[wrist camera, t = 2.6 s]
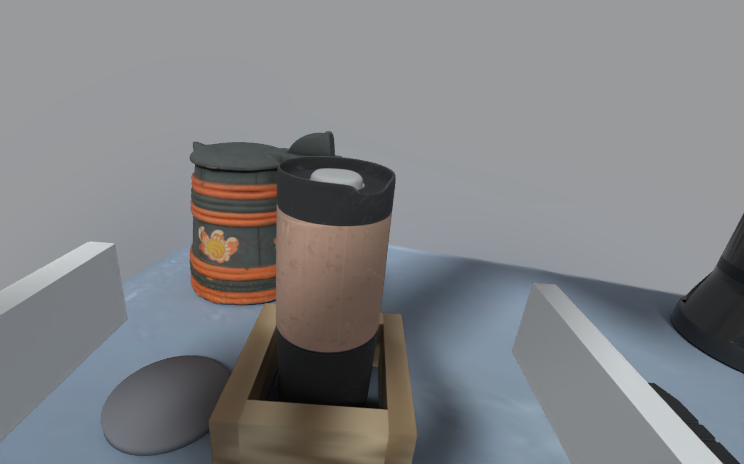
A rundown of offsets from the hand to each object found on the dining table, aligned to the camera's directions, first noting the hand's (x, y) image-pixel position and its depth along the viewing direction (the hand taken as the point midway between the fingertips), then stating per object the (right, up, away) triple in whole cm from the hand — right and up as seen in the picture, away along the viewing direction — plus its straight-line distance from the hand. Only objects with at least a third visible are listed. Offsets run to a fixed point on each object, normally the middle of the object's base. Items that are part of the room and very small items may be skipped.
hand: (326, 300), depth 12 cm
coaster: (-15, -11, +18) cm, 25 cm away
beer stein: (-12, -4, +36) cm, 39 cm away
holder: (-3, -12, +19) cm, 23 cm away
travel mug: (-3, -12, +19) cm, 23 cm away
